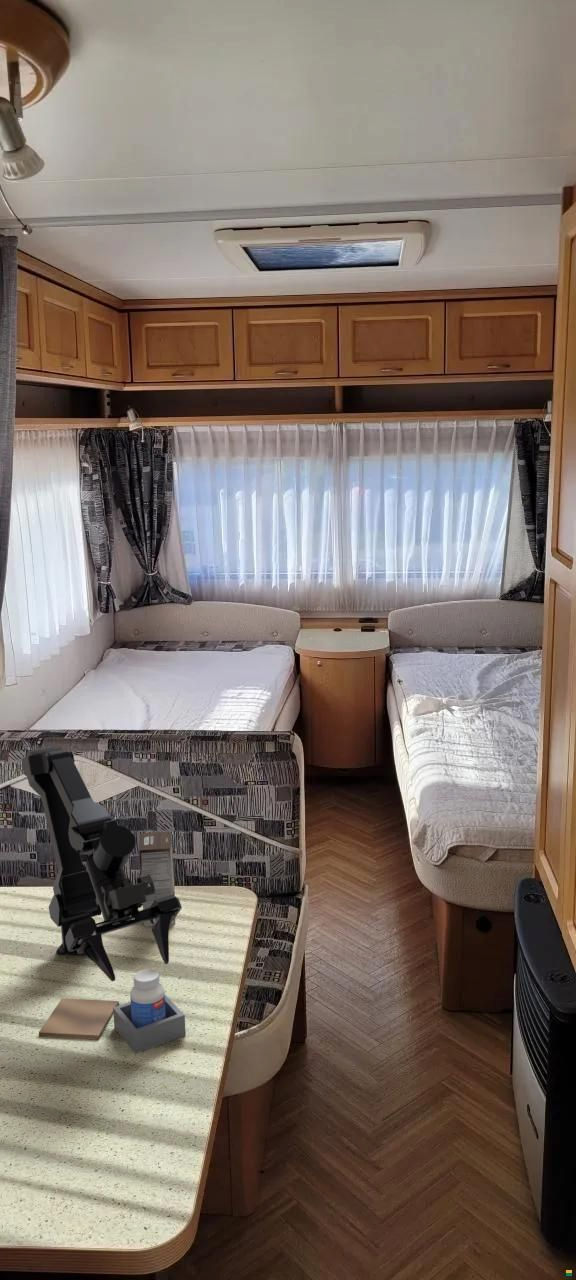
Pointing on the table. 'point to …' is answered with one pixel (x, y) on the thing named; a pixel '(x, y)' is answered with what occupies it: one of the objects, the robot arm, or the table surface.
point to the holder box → (149, 1027)
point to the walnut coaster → (79, 1018)
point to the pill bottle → (147, 998)
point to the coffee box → (157, 865)
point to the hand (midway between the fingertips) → (140, 971)
